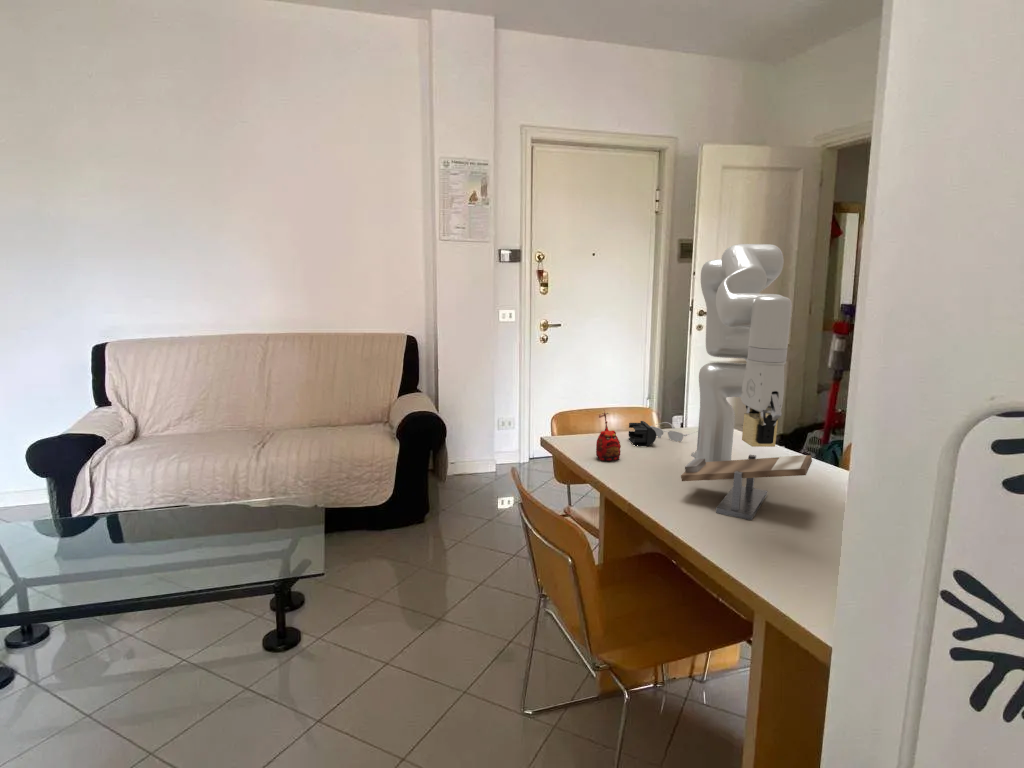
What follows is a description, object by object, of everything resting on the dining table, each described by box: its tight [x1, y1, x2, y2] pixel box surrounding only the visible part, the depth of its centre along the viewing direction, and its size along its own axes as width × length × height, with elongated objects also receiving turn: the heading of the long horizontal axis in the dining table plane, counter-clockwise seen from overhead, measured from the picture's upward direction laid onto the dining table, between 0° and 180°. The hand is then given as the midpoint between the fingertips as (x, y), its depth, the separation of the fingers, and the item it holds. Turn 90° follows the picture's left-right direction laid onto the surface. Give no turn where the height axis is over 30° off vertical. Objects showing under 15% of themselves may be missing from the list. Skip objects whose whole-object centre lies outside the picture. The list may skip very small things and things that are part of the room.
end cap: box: [628, 420, 657, 447], centre depth 201 cm, size 10×7×7 cm
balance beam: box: [680, 454, 813, 482], centre depth 145 cm, size 28×14×3 cm, turn 58°
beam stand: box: [715, 454, 768, 521], centre depth 146 cm, size 8×20×10 cm, turn 148°
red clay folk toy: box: [595, 409, 622, 462], centre depth 181 cm, size 8×7×15 cm
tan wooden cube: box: [741, 412, 779, 448], centre depth 128 cm, size 5×5×6 cm
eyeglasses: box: [649, 421, 698, 443], centre depth 214 cm, size 15×18×4 cm
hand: (758, 438), depth 128 cm, fingers closed on tan wooden cube, 5 cm apart
